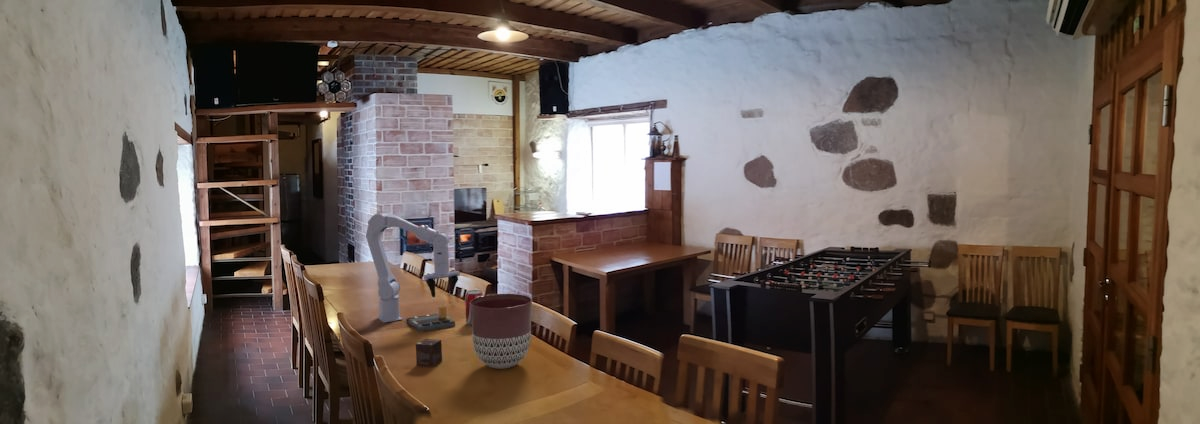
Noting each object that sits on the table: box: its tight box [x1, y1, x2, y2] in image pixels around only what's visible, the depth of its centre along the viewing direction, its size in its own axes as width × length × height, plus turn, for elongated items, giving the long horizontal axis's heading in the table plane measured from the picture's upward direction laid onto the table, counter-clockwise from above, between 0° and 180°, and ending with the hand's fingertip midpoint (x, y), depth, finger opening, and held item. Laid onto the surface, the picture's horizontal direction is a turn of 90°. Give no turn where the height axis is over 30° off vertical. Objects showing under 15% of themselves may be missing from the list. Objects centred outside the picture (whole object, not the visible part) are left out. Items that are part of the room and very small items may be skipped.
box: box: [415, 338, 443, 368], centre depth 205 cm, size 6×6×7 cm
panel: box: [407, 313, 456, 333], centre depth 251 cm, size 14×14×3 cm
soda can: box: [464, 289, 484, 326], centre depth 252 cm, size 7×7×13 cm
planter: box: [470, 293, 533, 370], centre depth 202 cm, size 20×20×21 cm
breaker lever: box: [438, 305, 447, 319], centre depth 253 cm, size 3×2×4 cm, turn 34°
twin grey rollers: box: [406, 313, 438, 323], centre depth 258 cm, size 4×13×2 cm, turn 124°
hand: (442, 295), depth 259 cm, fingers open, 7 cm apart
